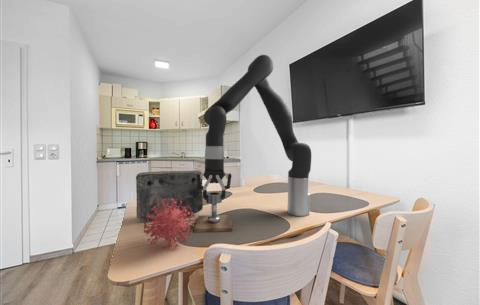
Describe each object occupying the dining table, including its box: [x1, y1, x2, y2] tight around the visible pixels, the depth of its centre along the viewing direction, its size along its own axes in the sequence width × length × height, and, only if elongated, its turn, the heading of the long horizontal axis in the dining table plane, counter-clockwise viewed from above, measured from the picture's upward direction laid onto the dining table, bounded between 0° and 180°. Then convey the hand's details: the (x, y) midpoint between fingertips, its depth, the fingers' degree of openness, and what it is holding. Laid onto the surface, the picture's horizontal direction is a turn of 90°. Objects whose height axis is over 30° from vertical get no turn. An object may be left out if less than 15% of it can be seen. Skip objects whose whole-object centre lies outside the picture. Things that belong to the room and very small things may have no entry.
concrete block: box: [135, 169, 204, 220], centre depth 88 cm, size 27×9×20 cm, turn 110°
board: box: [193, 214, 233, 233], centre depth 81 cm, size 14×14×1 cm
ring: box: [205, 191, 223, 205], centre depth 81 cm, size 6×6×3 cm
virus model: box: [143, 198, 195, 250], centre depth 63 cm, size 15×15×15 cm
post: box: [208, 204, 220, 224], centre depth 81 cm, size 5×5×8 cm
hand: (214, 199), depth 81 cm, fingers closed on ring, 6 cm apart
